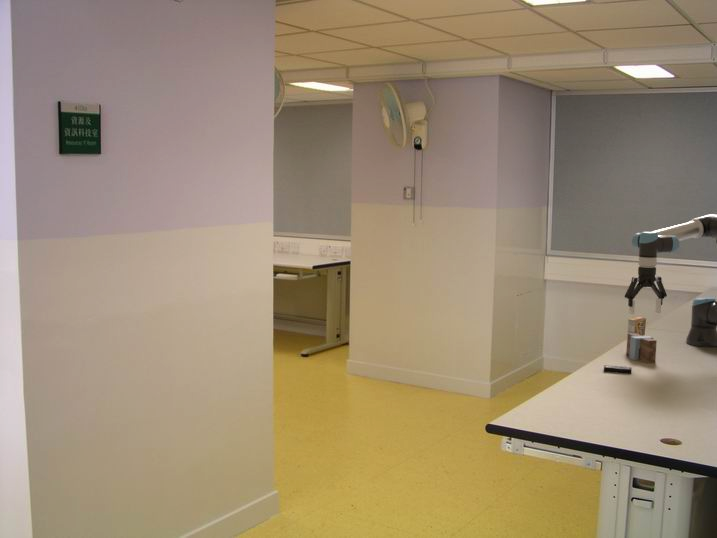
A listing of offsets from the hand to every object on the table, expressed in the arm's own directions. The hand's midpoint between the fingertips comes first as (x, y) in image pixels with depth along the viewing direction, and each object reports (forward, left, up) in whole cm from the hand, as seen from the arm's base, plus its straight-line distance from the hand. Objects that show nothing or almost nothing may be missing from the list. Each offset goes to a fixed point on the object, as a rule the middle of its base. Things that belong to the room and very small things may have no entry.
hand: (644, 313), depth 357 cm
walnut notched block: (+2, +1, -21) cm, 21 cm away
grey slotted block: (+2, +1, -21) cm, 21 cm away
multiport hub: (+26, +20, -21) cm, 39 cm away
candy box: (-6, -15, -21) cm, 27 cm away
